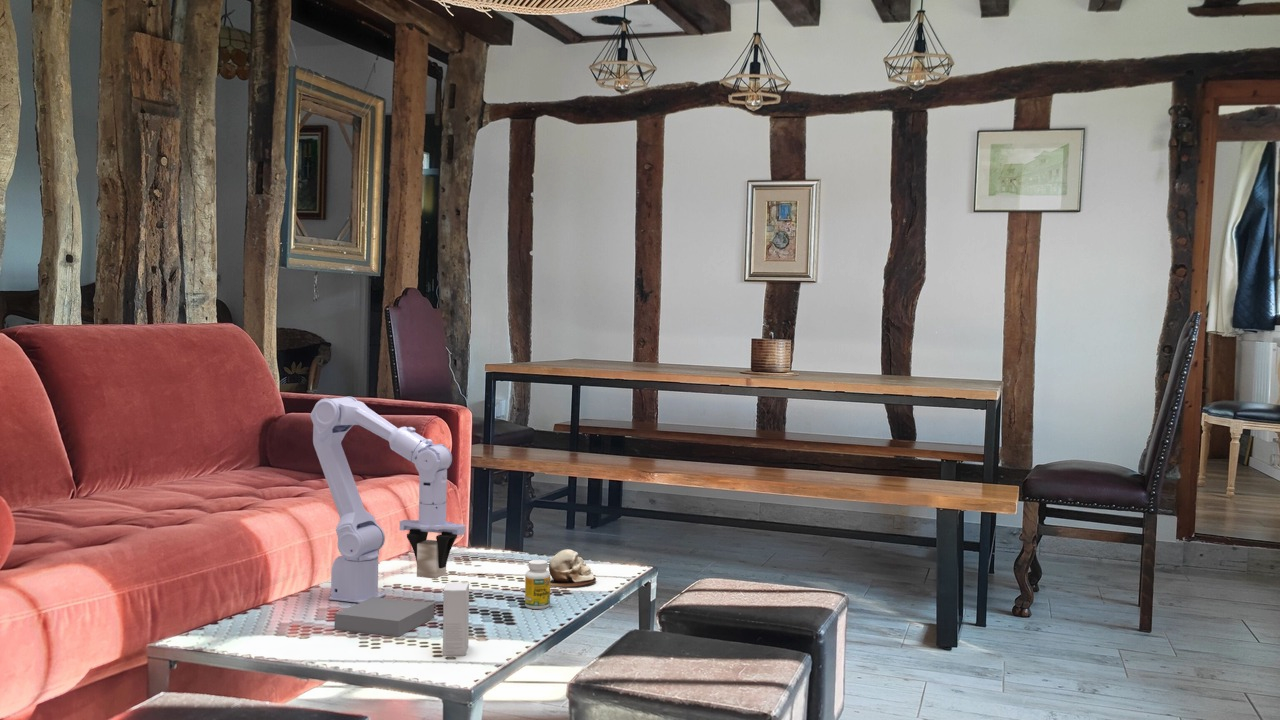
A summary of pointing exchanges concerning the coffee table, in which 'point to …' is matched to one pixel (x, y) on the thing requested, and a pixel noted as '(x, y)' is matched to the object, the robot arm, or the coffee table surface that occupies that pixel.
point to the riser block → (384, 616)
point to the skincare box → (455, 618)
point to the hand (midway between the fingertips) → (431, 566)
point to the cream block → (428, 560)
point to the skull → (569, 570)
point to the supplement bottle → (537, 585)
